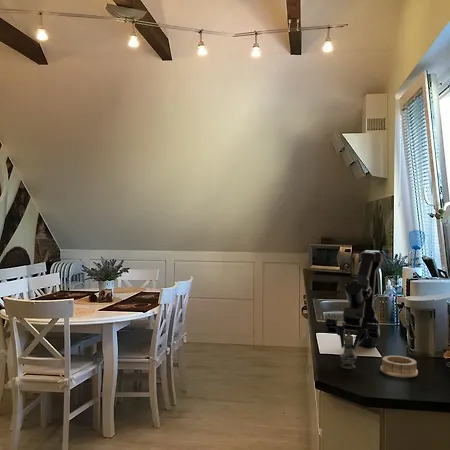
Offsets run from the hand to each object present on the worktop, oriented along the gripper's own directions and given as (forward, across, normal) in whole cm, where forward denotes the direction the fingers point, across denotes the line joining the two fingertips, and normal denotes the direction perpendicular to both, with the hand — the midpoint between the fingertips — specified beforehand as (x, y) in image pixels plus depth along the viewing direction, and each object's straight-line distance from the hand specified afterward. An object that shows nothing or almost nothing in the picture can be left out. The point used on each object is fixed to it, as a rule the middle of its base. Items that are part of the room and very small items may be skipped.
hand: (347, 348), depth 175 cm
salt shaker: (+4, 0, +6) cm, 7 cm away
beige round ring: (+2, +16, +8) cm, 18 cm away
